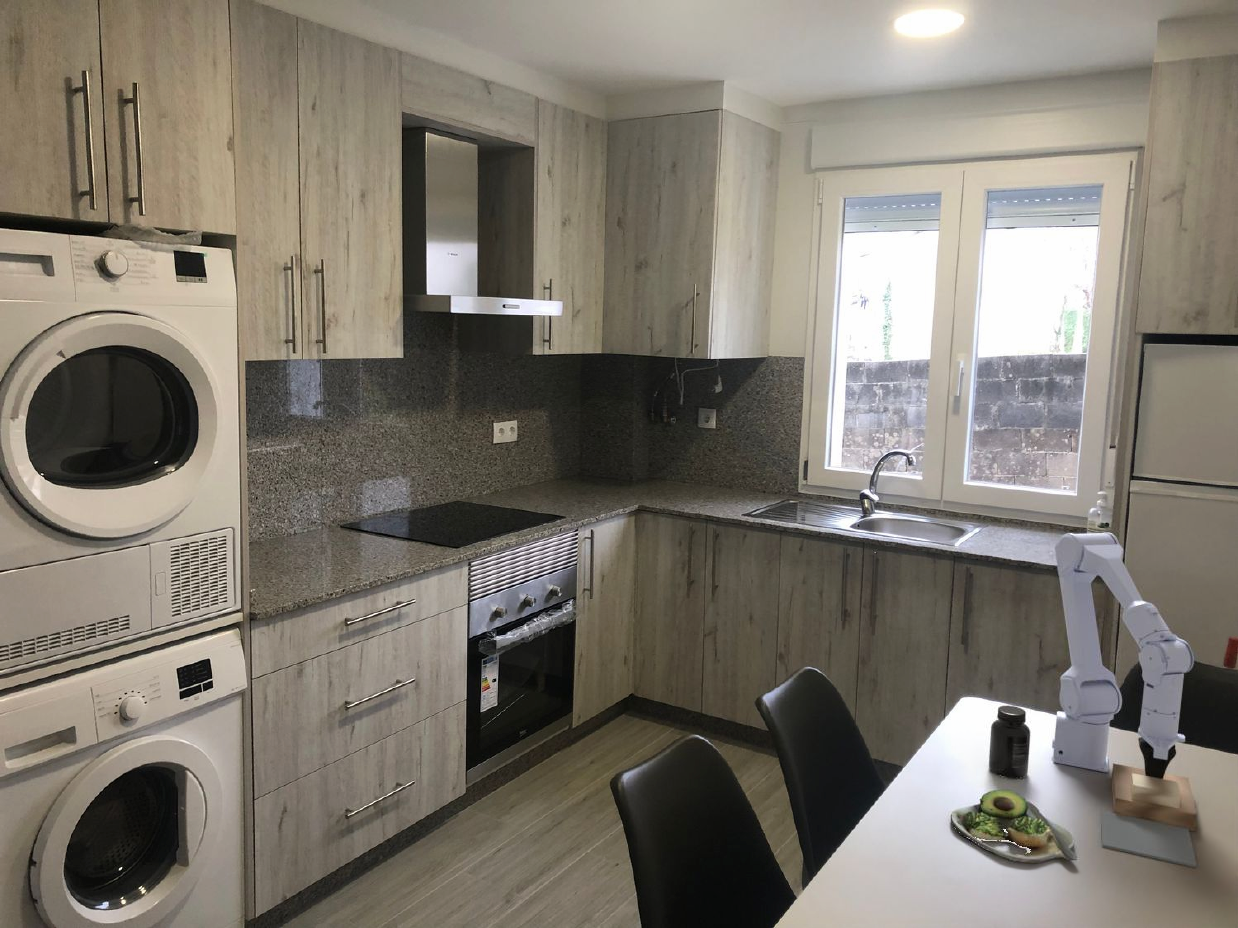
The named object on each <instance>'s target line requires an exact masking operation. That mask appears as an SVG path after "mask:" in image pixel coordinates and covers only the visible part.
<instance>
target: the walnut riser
mask: <svg viewBox="0 0 1238 928" xmlns="http://www.w3.org/2000/svg"><path fill="white" fill-rule="evenodd" d="M1111 770H1112V772H1111V789H1112V790H1111V791H1112V805H1113V806H1112V807H1113V813H1116V814H1121V815H1125V816H1130V817H1135V818H1140V819H1144V820H1149V821H1154V822H1159V823H1163V824H1168V825H1173V826H1178V827H1182V828H1187V829H1189V832H1196V828H1197V819H1198V813H1197V812H1198V811H1197V809H1196V805H1195V800H1194V795H1193V792H1192V788H1191V783H1190V780H1189V777H1186V776H1182V775H1176V774H1170V773H1166V772H1165V774H1164V777H1163V779H1165V780H1170V781H1175V782H1178V784H1179V789H1180V793H1181V796H1180V805H1179V808H1174V807H1169V806H1164V805H1159V804H1155V803H1150V802H1145V801H1140V800H1135V799H1132V796H1131V777H1132V773H1134V774H1139V775H1144V776H1146V775H1145V768H1140V767H1134V766H1129V765H1123V764H1120V763H1119V764H1118V763H1112V769H1111Z"/></svg>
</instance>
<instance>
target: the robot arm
mask: <svg viewBox="0 0 1238 928" xmlns="http://www.w3.org/2000/svg"><path fill="white" fill-rule="evenodd" d="M1054 551H1055V559H1056V567H1057V573H1058V576H1059V577H1058V578H1059V583H1060V585H1059V586H1060V591H1061V598H1062V606H1063V607H1062V608H1063V615H1064V620H1065V621H1064V622H1065V626H1066V634H1067V642H1068V649H1069V657H1070V664H1071V666H1070V667H1069V668H1068V670H1066V671H1065V672H1064V673H1063V674H1062V675H1061V676H1060V678H1059V679H1060V690H1059V698H1058V699H1059V704H1060V706H1061V708H1062V710H1063V711H1059V710H1058V711H1056V719H1055V729H1054V730H1055V731H1054V738H1052V744H1051V748H1052V749H1053V753H1052V754H1053V755H1052V762H1053V763H1057V764H1061V765H1066V766H1071V767H1077V768H1082V769H1088V770H1092V771H1099V772H1102V773H1108V772H1109V756H1108V744H1109V742H1108V741H1109V733H1110V725H1111V724H1110V722H1111V720H1114V718H1115V717H1114V715H1115V714H1117V713H1119V711H1120V710H1121V709H1122V705H1123V696H1122V693H1121V691H1120V688H1119V687H1118V684H1117V681H1116V675H1115V674H1114V673H1113V672H1112V671H1110V670H1109V669H1107V668H1106V666H1104V665H1103V661H1102V660H1103V659H1102V653H1101V646H1100V639H1099V638H1100V637H1099V632H1098V631H1099V630H1098V624H1097V620H1096V619H1097V618H1096V610H1095V604H1094V598H1093V591H1092V582H1093V581H1094V580H1095V578H1096V577H1097V576H1099V577H1101V579H1102V580H1103V582H1104V583H1105V585H1106V586H1107V587H1108V589H1109V590H1110V592H1111V593H1112V594H1113V595H1114V597H1115V598H1116V600H1117V601H1118V602H1119V604H1120V605H1121V607H1122V608H1123V612H1122V617H1121V619H1122V622H1123V623H1124V624H1125V626H1126V627H1127V629H1128V631H1129V632H1130V634H1131V636H1132V638H1133V640H1134V641H1135V643H1136V644H1137V646H1138V647H1139V649H1140V652H1138V662H1139V664H1140V667H1141V671H1142V673H1141V677H1142V680H1143V681H1144V682H1143V683H1144V684H1143V695H1142V703H1141V711H1140V712H1141V713H1140V714H1141V715H1140V724H1139V726H1138V730H1137V731H1138V732H1137V733H1138V735H1139V737H1138V738H1137V740H1138V745H1139V746H1138V748H1139V750H1140V751H1141V754H1142V757H1143V762H1144V763H1143V764H1144V769H1145V775H1146V776H1149V777H1154V778H1160V779H1163V777H1164V774H1165V773H1166V771H1167V768H1168V767H1169V764H1170V763H1171V762H1172V760H1173V759H1174V758H1175V757H1176V755H1177V750H1176V744H1178V743H1185V742H1186V736H1185V735H1184V734H1181V733H1178V731H1179V723H1180V722H1179V721H1180V714H1181V705H1182V704H1181V703H1182V697H1183V696H1182V694H1183V687H1184V686H1183V685H1184V677H1185V673H1189V672H1190V671H1191V670H1192V669H1193V667H1194V664H1195V657H1194V652H1193V650H1192V648H1191V646H1190V644H1189V643H1188V642H1187V641H1186V640H1184V639H1181V638H1179V637H1178V636H1177V635H1176V634H1175V633H1172V631H1171V629H1170V628H1169V627H1168V625H1167V624H1166V622H1165V620H1164V619H1163V617H1162V615H1161V614H1160V612H1159V610H1158V608H1157V607H1156V606H1155V605H1154V604H1153V603H1151V602H1147V601H1144V600H1143V598H1142V596H1141V594H1140V593H1139V590H1138V589H1137V586H1136V585H1135V583H1134V581H1133V579H1132V577H1131V575H1130V573H1129V571H1128V569H1127V567H1126V565H1125V563H1124V562H1123V558H1124V548H1123V547H1122V546H1121V544H1120V541H1119V539H1118V538H1117V536H1116V535H1115V534H1114V533H1111V532H1108V531H1107V532H1106V531H1105V532H1097V533H1090V532H1089V533H1070V532H1069V533H1065V534H1063V535H1062V536H1061V537H1060V538H1059V539H1058V541H1057V543H1056V545H1055V546H1054ZM1086 681H1087V682H1086ZM1088 681H1091V682H1088ZM1093 681H1094V682H1093Z"/></svg>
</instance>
